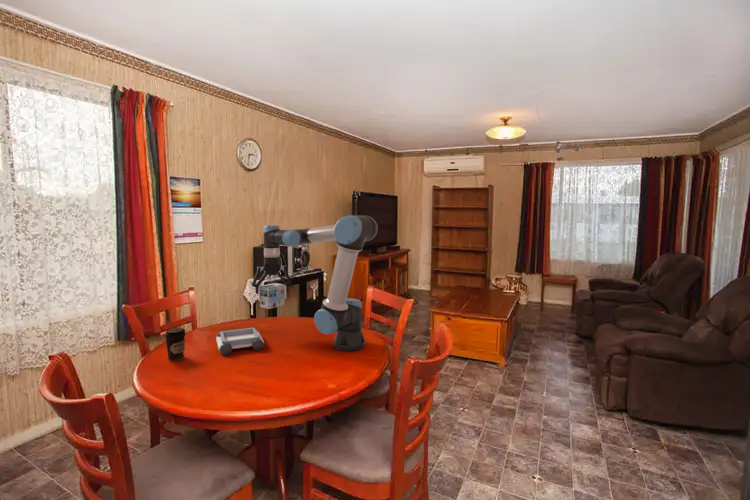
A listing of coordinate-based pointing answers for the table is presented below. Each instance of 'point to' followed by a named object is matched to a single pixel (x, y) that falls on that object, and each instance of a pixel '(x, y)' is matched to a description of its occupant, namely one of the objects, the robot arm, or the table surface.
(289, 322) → the table surface
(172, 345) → the coffee cup
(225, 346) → the chassis
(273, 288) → the light bulb box
